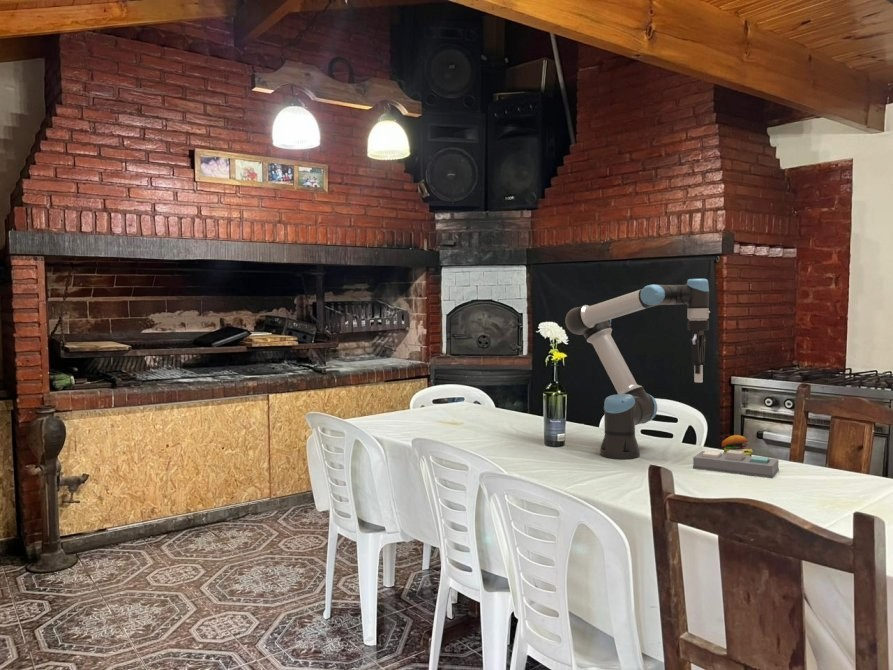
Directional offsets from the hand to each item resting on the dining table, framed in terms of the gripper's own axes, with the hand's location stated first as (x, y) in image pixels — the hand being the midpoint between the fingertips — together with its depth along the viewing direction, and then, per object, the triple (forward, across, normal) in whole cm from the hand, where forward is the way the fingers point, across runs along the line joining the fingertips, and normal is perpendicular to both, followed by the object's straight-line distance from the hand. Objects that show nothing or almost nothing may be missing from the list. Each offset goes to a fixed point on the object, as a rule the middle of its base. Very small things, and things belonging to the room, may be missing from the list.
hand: (698, 382), depth 250 cm
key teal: (+28, -9, -23) cm, 37 cm away
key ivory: (+28, -10, -7) cm, 30 cm away
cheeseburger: (+30, +9, -12) cm, 33 cm away
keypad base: (+29, -10, -15) cm, 34 cm away
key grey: (+27, -9, -15) cm, 32 cm away
